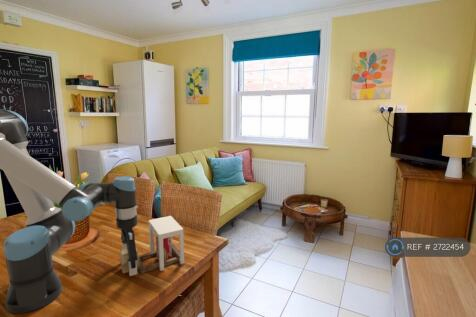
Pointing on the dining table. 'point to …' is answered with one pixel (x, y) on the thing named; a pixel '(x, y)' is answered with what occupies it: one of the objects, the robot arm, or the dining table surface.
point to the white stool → (166, 236)
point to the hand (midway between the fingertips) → (129, 265)
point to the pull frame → (140, 266)
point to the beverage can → (165, 248)
